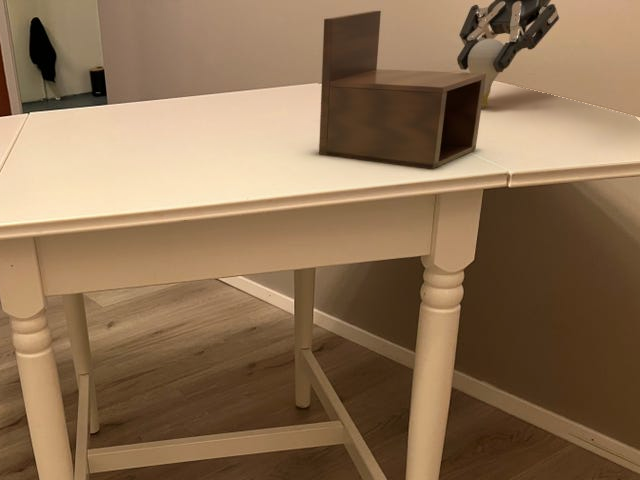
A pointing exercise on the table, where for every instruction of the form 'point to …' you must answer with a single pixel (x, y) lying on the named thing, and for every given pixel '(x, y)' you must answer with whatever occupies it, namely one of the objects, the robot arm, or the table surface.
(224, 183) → the table surface
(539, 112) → the table surface
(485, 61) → the light bulb
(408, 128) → the shelf
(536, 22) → the robot arm
